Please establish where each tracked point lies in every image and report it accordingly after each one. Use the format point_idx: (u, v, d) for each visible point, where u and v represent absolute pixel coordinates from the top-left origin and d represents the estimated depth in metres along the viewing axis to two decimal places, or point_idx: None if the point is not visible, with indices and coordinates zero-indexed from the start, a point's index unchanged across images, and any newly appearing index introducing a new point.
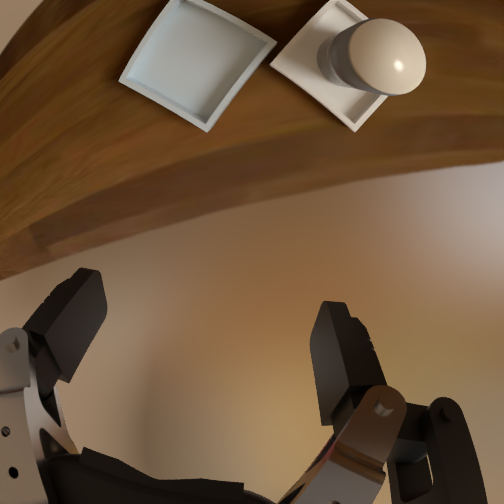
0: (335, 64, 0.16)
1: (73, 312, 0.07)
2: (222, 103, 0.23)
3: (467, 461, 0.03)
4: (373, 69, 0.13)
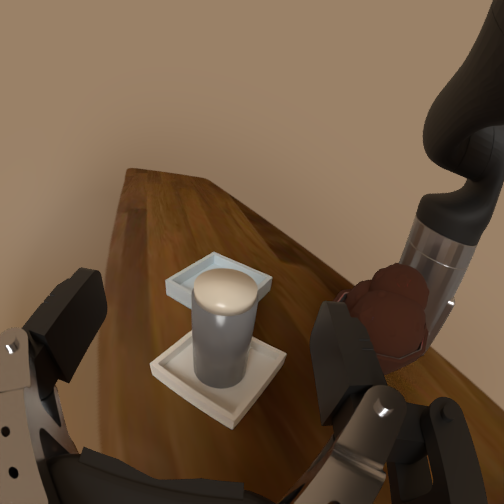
0: None
1: (73, 312, 0.07)
2: (184, 288, 0.37)
3: (467, 461, 0.03)
4: (211, 276, 0.24)
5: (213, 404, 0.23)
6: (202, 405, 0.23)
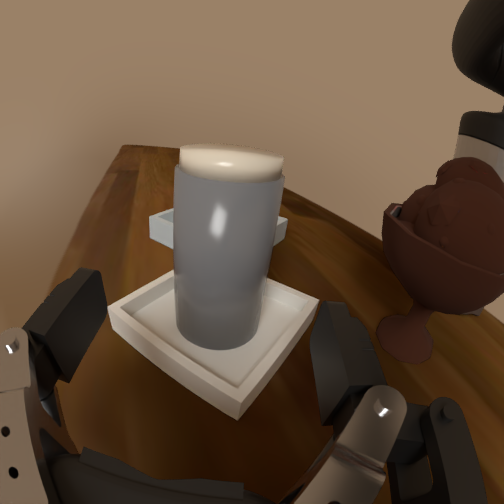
0: None
1: (73, 312, 0.07)
2: (172, 223, 0.27)
3: (467, 461, 0.03)
4: (210, 146, 0.14)
5: (204, 373, 0.13)
6: (185, 375, 0.13)
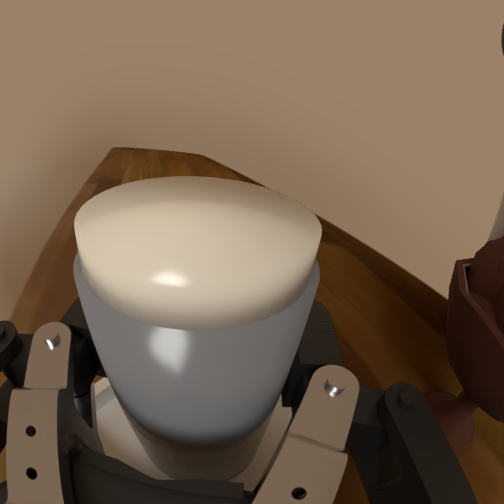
0: None
1: None
2: None
3: (437, 446, 0.04)
4: (156, 188, 0.07)
5: None
6: None
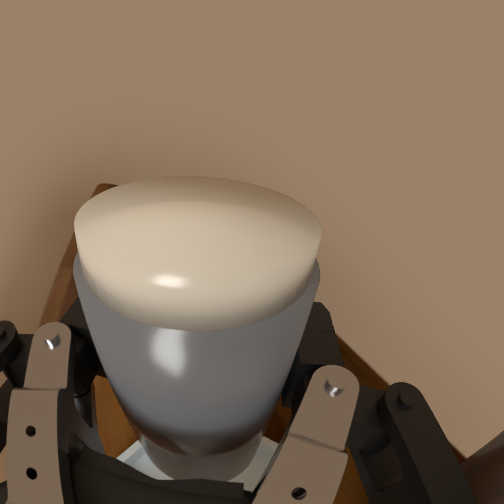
0: None
1: None
2: None
3: (437, 445, 0.04)
4: (156, 188, 0.07)
5: None
6: None
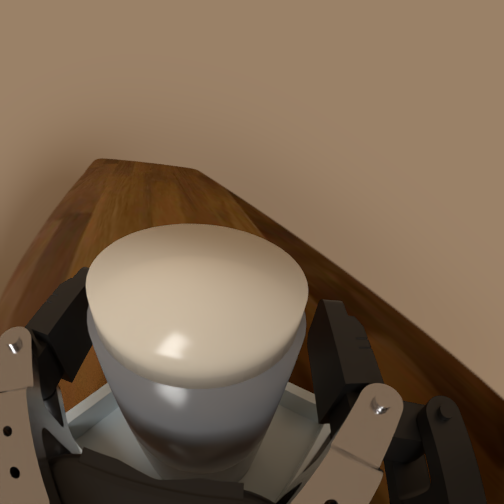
0: None
1: (76, 311, 0.07)
2: None
3: (465, 460, 0.03)
4: (157, 242, 0.07)
5: None
6: None
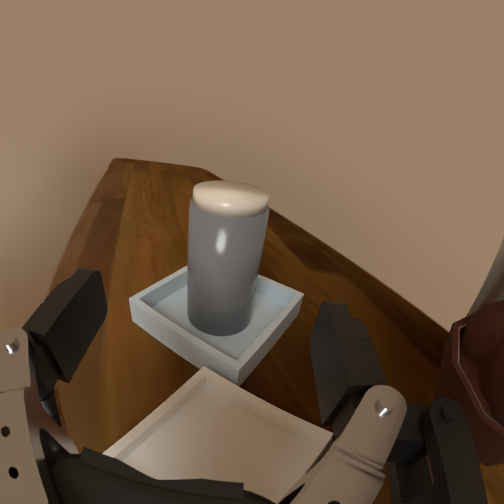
0: None
1: (73, 312, 0.07)
2: (157, 314, 0.20)
3: (467, 461, 0.03)
4: (214, 184, 0.20)
5: None
6: None
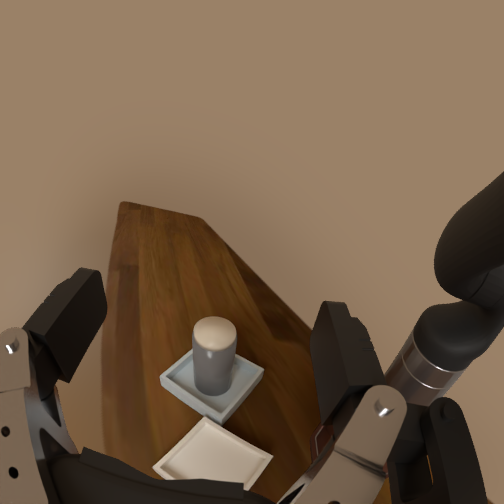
0: None
1: (73, 312, 0.07)
2: (177, 386, 0.35)
3: (467, 461, 0.03)
4: (205, 323, 0.34)
5: None
6: None
